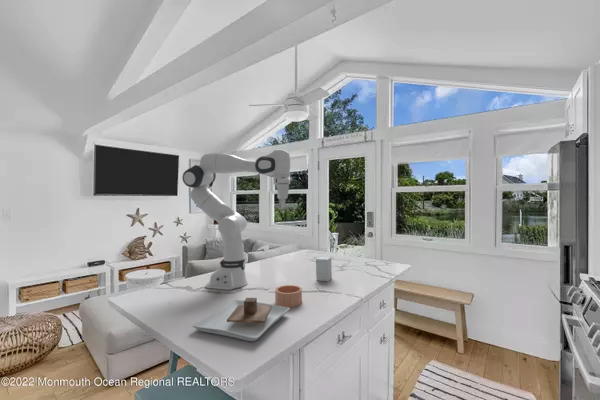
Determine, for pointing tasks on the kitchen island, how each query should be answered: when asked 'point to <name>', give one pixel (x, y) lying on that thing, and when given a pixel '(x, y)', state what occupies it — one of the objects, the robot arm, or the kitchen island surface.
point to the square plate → (239, 330)
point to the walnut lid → (250, 312)
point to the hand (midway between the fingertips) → (282, 207)
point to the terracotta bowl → (288, 296)
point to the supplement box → (323, 269)
